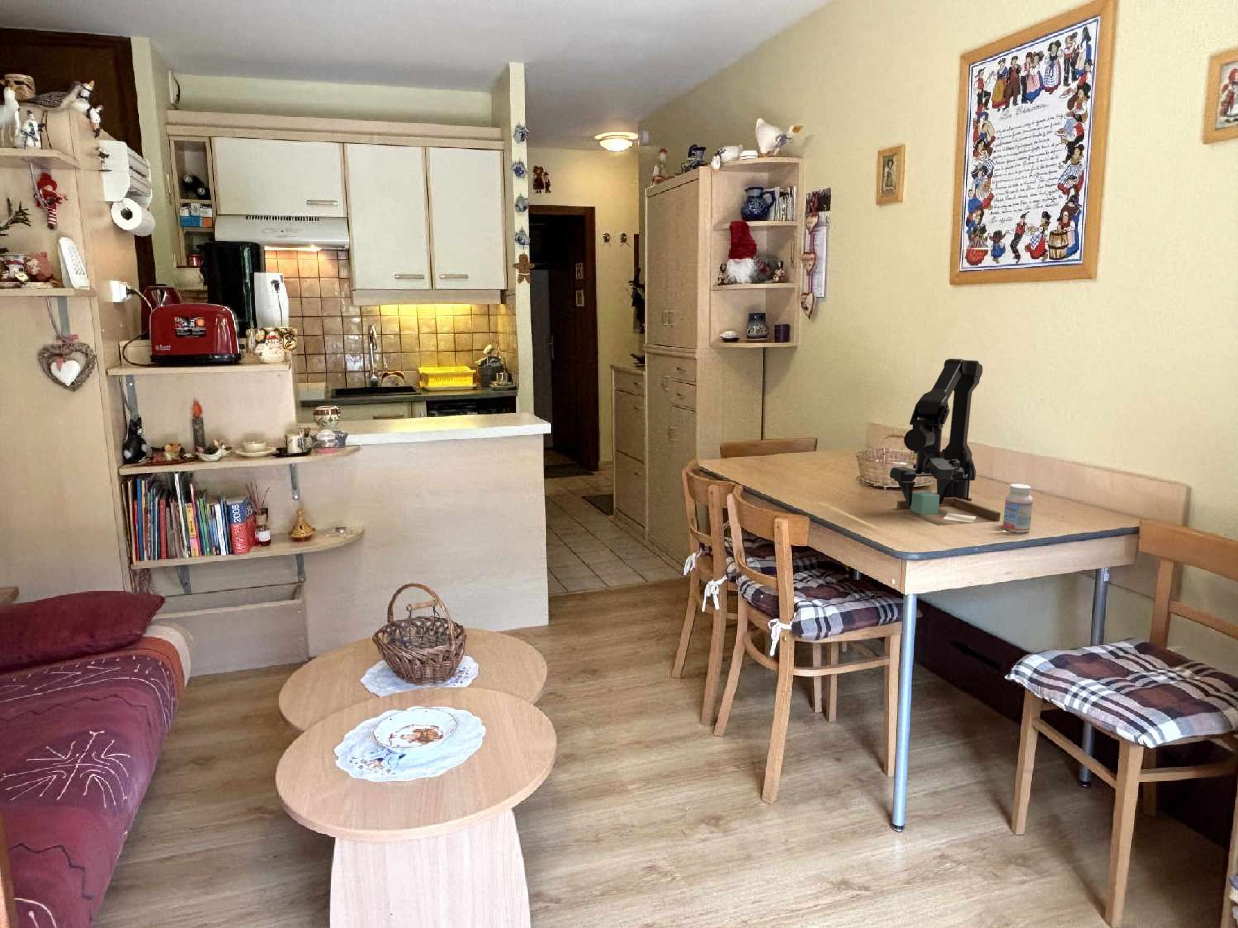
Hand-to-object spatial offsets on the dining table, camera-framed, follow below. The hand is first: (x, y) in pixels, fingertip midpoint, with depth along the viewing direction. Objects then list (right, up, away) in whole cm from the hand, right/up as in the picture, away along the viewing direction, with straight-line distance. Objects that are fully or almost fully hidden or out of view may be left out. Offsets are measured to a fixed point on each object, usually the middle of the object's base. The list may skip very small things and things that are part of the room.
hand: (924, 504), depth 219 cm
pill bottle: (+17, -6, -14) cm, 23 cm away
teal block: (0, -2, 0) cm, 2 cm away
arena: (+5, -3, -2) cm, 6 cm away
